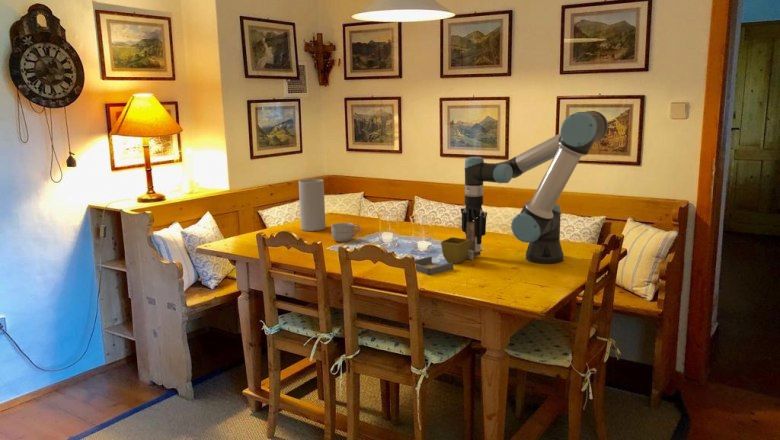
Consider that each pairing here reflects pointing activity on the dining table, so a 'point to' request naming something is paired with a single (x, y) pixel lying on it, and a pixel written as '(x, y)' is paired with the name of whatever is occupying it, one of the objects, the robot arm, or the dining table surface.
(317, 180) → the cylinder vase
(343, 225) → the teacup
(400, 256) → the dining table surface
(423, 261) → the tray
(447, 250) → the flower pot
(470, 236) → the upright post on base
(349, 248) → the dining table surface
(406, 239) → the dining table surface
